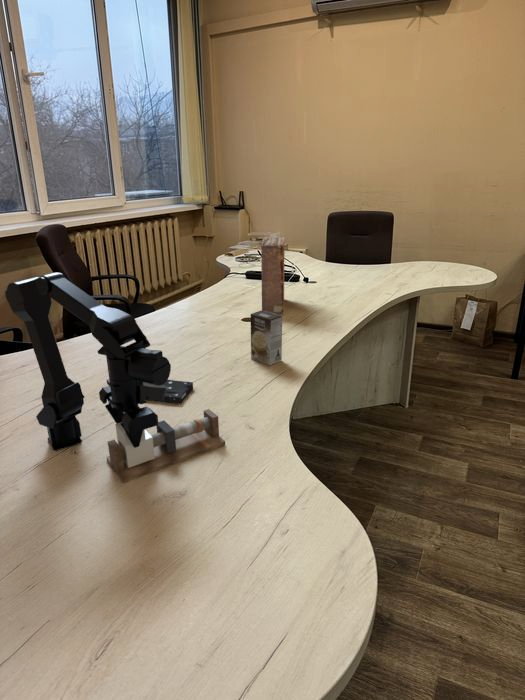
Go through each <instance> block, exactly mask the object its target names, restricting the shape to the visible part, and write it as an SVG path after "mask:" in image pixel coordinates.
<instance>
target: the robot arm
mask: <svg viewBox="0 0 525 700" xmlns="http://www.w3.org/2000/svg"><path fill="white" fill-rule="evenodd" d="M4 291H5V293H4V295H5V299H6V301H7V302H8V304H9V307H10V309H11V311H12V313H13V314H14V315H16V317H18V319H20V320H21V321H23V323H24V325H25V328H26V330H27V334H28V336H29V339H30V342H31V343H30V344H31V346H32V349H33V352H34V355H35V358H36V361H37V363H38V368H39V370H40V374H41V376H42V379H43V382H44V385H43V388H42V393H41V401H42V405H43V407H42V409H40V411H39V412H38V413H37V414H36V416H35V417H36V419H37V422H38V424H39V425H40V426H43V427H46V428H47V429H46V430H47V434H48V435H47V436H48V437H47V441H48V443H49V445H50V447H51V449H52V450H53V451H54V452H56V451H59V450H63V449H65V448H66V449H67V448H69V447H72V446H75V445H78V444H81V443H82V442H83V441H82V438H81V437H83V436H82V435H83V434H82V430H81V429H82V428H81V424H80V421H79V419H78V418H77V415H80V414H82V409H83V406H84V404H85V402H84V401H85V400H84V398H85V396H84V393H83V392H82V388H81V384H80V383H79V382H74V381H73V380H72V379H71V378H69V376H68V375H67V371H66V368H65V365H64V361H63V357H62V355H61V353H60V352H61V351H60V348H59V345H58V343H57V340H56V336H55V333H54V330H53V327H52V324H51V320H50V312H51V308H52V305H53V304H52V303H53V302H52V300H53V301H55V302H56V303H58V304H59V305H60V306H62V307H63V308H64V309H66V310H67V311H68V312H70V313H71V314H73V315H74V316H75V317H77V318H78V319H80V320H81V321H82V322H84V323H85V324H86V325H87V326H88V328H89V330H90V333H91V335H92V337H93V338H94V339H95V340H97V341H98V342H99V344H101V347H100V348H99V349H98V350H97V353H98V355H102V356H106V357H105V358H106V365H107V372H108V373H107V374H108V378H107V379H106V380H105V381H106V384H107V385H106V386H103V387H101V389H100V390H99V392H98V394H99V395H98V396H99V400H100V401H101V403H102V404H103V405H105V409H106V410H107V413H109V415H110V416H111V418H112V419H113V421H114V422H115V424H117V423H120V425H121V426H122V428H123V430H124V431H125V433H126V435H127V437H128V438H129V440H130V442H131V443H132V445H133V447H134V448H136V447H139V445H140V441H141V437H142V433H143V430H147V429H150V428H154V427H156V426H157V425H158V422H159V415H158V414H157V413H156V412H155V411H153V409H151V408H150V407H148V406H144V407H140V406H139V405H145V404H146V403H147V401H146V400H158V401H163V400H164V396H165V392H166V388H167V387H166V386H165V385H163V384H164V383H165V382H166V381H167V380H169V378H170V375H171V371H172V369H171V368H172V367H171V366H172V365H171V363H170V361H169V359H168V358H167V357H166V356H163V351H162V350H159V349H149V348H148V347H150V346H151V343H150V342H149V339H148V338H147V336H146V335H145V334H144V333H143V331H142V329H141V327H140V326H139V325H138V323H137V320H136V319H135V318H134V316H132V315H131V314H129V313H127V312H126V311H123V310H121V309H119V308H115V307H108V306H105V305H104V304H102V303H100V302H99V301H98V300H97V299H95V298H94V297H92V296H90V295H89V294H88V293H86V292H85V291H84V290H82V289H81V288H80V287H78V286H76V285H75V284H73V282H71V281H69V280H68V279H67V277H66V276H65V275H64V274H63V273H61V272H56V271H55V272H51V273H47V274H43V275H41V276H34V277H29V278H24V279H22V280H21V279H19V280H17V281H16V280H15V281H12V282H10V283H8V284H7V287H6V289H5V290H4ZM132 341H134V342H132ZM130 342H132V343H130ZM127 343H130V344H128V345H126V344H127ZM124 345H126V346H124ZM121 422H122V423H121Z"/></svg>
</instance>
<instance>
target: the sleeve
mask: <svg viewBox="0 0 525 700" xmlns="http://www.w3.org/2000/svg"><path fill="white" fill-rule="evenodd" d="M121 423H122V422H121ZM115 431H116V438H117V439H116V440H117V443H118V445H119V446H120V445H123V446H124V447H125V451H126V457H125V458H123V461H124V463H125V464H126V465H127V466H128V468H130V467H133V466H135V465H138V464H141V463H144V462H147V461H149V460H152V459H155V455H154V446H153V437H152V436H151V435H152V434H150V433H149V432H148V431H147V429H145V430H143V433H142V437H141V441H140V445H139V447H136V448H134V447H133V445H132V443H131V442H130V440H129V438H128V437H127V435H126V433H125V431H124V430H123V428H122V426H121V425H120V423H117V424H116V423H115Z"/></svg>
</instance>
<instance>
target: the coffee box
mask: <svg viewBox="0 0 525 700" xmlns="http://www.w3.org/2000/svg"><path fill="white" fill-rule="evenodd" d="M282 351H283V315H282V314H276V313H272V312H269V311H265V310H262V309H261V310H258V311H255V312H253V313H250V359H251V360H254V361H257V362H259V363H262V364H264V365H267V366H269V365H270V366H272V364H273V365H274V363H275V364H278V363H279V362H281V361H280V360H282V359H283V358H282V355H283V353H282Z"/></svg>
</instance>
